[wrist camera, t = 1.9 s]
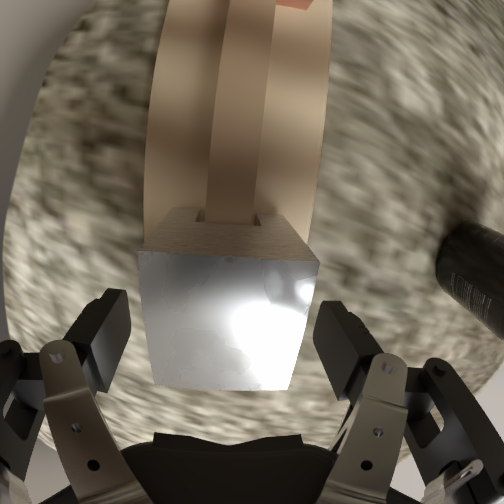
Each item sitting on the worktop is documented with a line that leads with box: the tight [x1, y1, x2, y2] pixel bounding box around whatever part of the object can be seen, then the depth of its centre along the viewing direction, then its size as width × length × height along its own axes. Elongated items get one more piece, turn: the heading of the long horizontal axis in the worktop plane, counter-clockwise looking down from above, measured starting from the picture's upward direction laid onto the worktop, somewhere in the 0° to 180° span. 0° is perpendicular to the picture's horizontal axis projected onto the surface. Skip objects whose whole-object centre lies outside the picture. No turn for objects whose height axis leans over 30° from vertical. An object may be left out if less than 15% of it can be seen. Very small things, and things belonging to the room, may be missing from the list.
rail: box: [144, 0, 332, 244], centre depth 11 cm, size 23×9×7 cm, turn 174°
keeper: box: [137, 207, 320, 391], centre depth 12 cm, size 6×6×6 cm
